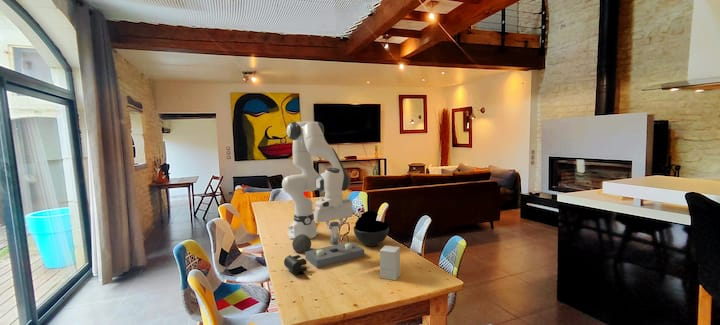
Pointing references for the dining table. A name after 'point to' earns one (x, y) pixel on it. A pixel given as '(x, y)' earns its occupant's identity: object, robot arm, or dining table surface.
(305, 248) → the decorative ball
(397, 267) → the supplement box
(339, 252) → the block
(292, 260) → the end cap
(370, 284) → the dining table surface
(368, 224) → the coal bowl
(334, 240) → the steel plug
